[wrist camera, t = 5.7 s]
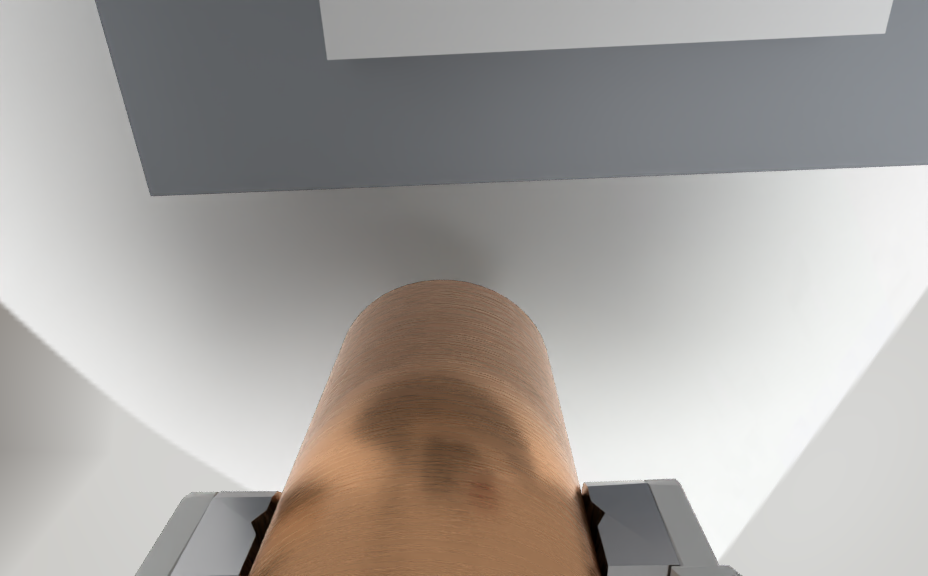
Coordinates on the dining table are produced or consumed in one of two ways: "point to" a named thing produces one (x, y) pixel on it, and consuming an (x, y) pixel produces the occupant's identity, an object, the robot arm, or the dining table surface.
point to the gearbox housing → (513, 89)
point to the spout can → (434, 450)
